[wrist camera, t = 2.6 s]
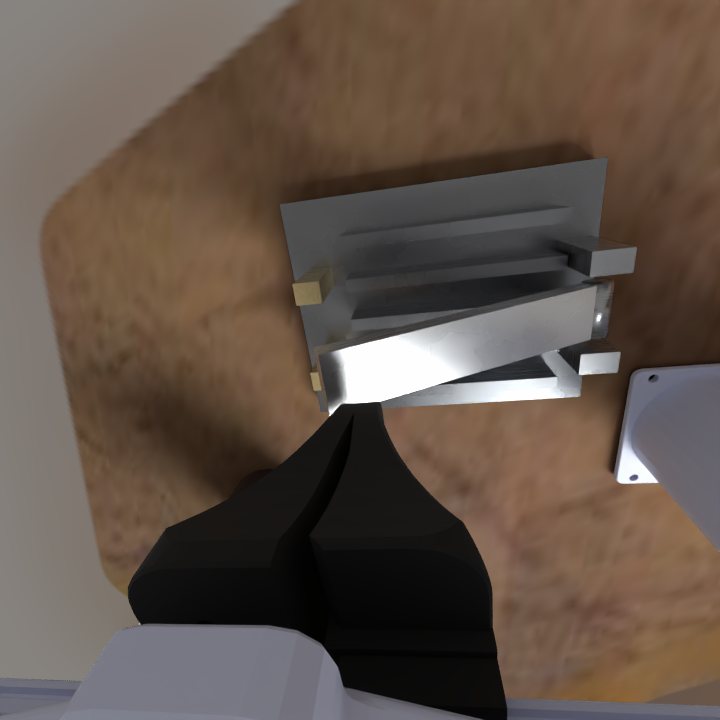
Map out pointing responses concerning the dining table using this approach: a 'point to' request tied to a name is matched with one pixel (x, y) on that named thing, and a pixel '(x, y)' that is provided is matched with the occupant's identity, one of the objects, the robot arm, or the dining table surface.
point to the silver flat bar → (461, 343)
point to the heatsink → (456, 267)
